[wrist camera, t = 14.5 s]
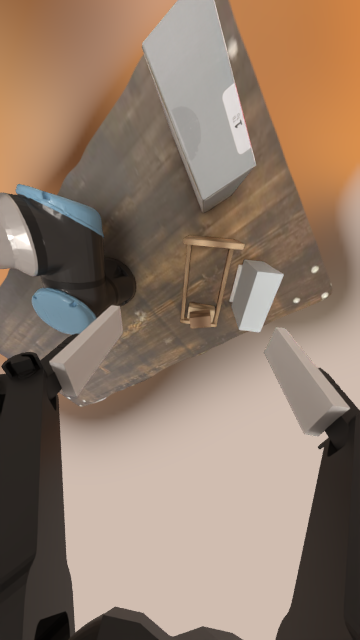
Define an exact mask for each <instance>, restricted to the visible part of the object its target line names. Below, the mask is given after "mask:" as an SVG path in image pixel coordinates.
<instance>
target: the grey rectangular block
mask: <svg viewBox="0 0 360 640" xmlns="http://www.w3.org/2000/svg"><path fill="white" fill-rule="evenodd" d="M283 275H284V274H282V273H281V272H279V271H278V270H276V269H274V268H273V267H271V266H270V265H268V264H266V263H265V262H263V261H253V260H244V262H243V266H242V269H241V273H240V277H239V280H238V284H237V288H236V291H235V295H234V299H233V302H232V306H231V307H232V310H233V313H234V316H235V319H236V322H237V325H238V328H239V330H246V331H254V332H260V331H261V329H262V326H263V324H264V321H265V319H266V316H267V314H268V312H269V309H270V307H271V304H272V302H273V300H274V297H275V295H276V292H277V290H278V287H279V285H280V283H281V280H282V278H283Z"/></svg>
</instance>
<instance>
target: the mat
mask: <svg viewBox="0 0 360 640" xmlns="http://www.w3.org/2000/svg"><path fill="white" fill-rule="evenodd" d="M242 266H243V265H238V269H237V273H236V277H235V281H234V285H233V289H232V292H231V296H230V300H229V301H230V302H233V299H234V295H235V291H236V288H237V284H238V280H239V277H240V273H241V269H242Z"/></svg>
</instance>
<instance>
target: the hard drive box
mask: <svg viewBox="0 0 360 640" xmlns="http://www.w3.org/2000/svg"><path fill="white" fill-rule="evenodd" d="M142 44H143V45H142V49H143V52H144V55H145V58H146V61H147V64H148V67H149V69H150V72H151V75H152V78H153V81H154V83H155V86H156V89H157V92H158V95H159V98H160V101H161V104H162V107H163V110H164V112H165V115H166V118H167V121H168V124H169V127H170V130H171V133H172V135H173V138H174V141H175V143H176V146H177V148H178V151H179V153H180V156H181V158H182V161H183V163H184V166H185V168H186V171H187V174H188V176H189V179H190V181H191V184H192V187H193V189H194V192H195V194H196V197H197V200H198V202H199V205H200V208H201V210H202V212H204V213H205V212H207V211H208V210H210V209H211V208H213V207H214V206H216V205H217V204H219V203H221V202H222V201H224V200H225V199H227V198H228V197H230V196H231V195H232V194H233V193H234V191H235V190H236V189H237V188H238V186H239V185H240V184H241V183H242V181H243V180H244V179H245V178H246V176H247V175H248V174H249V172H250V171H251V170H252V169H253V167H254V166H256V162H255V158H254V154H253V151H252V146H251V142H250V138H249V134H248V130H247V126H246V122H245V118H244V114H243V111H242V107H241V103H240V99H239V95H238V92H237V88H236V84H235V81H234V77H233V73H232V69H231V65H230V61H229V57H228V53H227V48H226V44H225V41H224V37H223V33H222V29H221V25H220V21H219V17H218V13H217V9H216V6H215V2H214V0H178V1H177V2H176V3H175V4H174V6H173V7H172V8H171V9H170V11H169V12H168V13H167V14H166V15H165V16H164V18H163V19H162V20H161V22H160V23H159V24H158V25H157V26H156V27H155V29H154V30H153V31H152V32H151V34H150V35H149V36H148V37H147V38H146V40H145V41H144V42H143V43H142Z"/></svg>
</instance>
